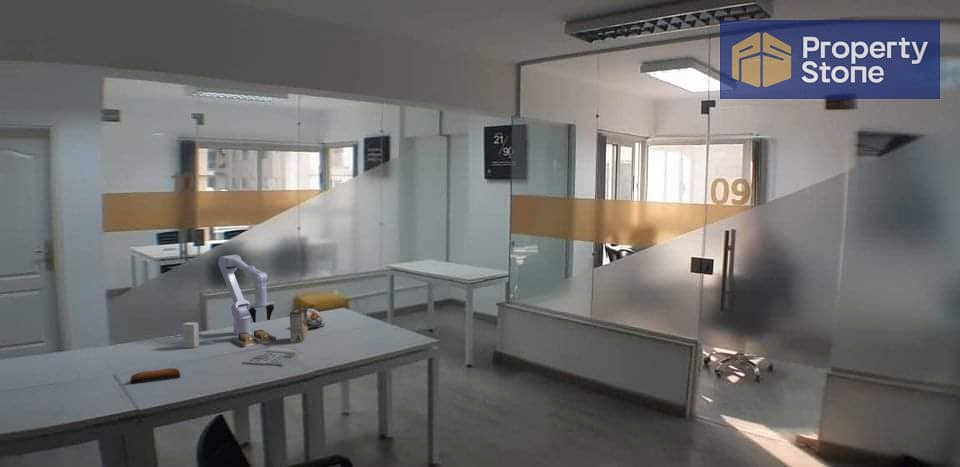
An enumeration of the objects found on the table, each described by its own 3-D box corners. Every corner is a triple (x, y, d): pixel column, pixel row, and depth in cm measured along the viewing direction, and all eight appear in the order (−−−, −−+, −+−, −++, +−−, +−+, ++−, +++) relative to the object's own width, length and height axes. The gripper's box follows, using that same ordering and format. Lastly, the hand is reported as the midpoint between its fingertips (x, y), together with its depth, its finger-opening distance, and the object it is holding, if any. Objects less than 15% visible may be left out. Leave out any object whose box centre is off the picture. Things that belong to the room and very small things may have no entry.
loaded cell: (253, 338, 295) (253, 330, 295) (261, 337, 298) (261, 329, 298) (261, 342, 288) (261, 334, 288) (269, 340, 291) (269, 333, 291)
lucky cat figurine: (329, 324, 327) (329, 306, 319) (316, 337, 317) (315, 319, 310) (308, 315, 331) (307, 297, 323) (295, 327, 322) (293, 309, 314)
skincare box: (199, 345, 283) (198, 322, 282) (194, 348, 279) (193, 324, 278) (188, 345, 284) (187, 322, 283) (182, 347, 280) (182, 324, 279)
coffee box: (296, 338, 298) (295, 308, 297) (308, 338, 298) (307, 308, 297) (290, 343, 289) (289, 312, 288) (302, 343, 289) (302, 312, 287)
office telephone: (270, 345, 279) (307, 348, 275) (271, 350, 280) (308, 353, 275) (242, 359, 257) (281, 362, 253) (242, 364, 257) (282, 367, 253)
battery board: (231, 342, 290) (231, 337, 290) (263, 336, 302) (263, 331, 302) (243, 348, 280) (243, 343, 279) (275, 342, 291) (275, 337, 291)
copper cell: (238, 341, 290) (238, 333, 289) (246, 339, 292) (246, 332, 292) (246, 345, 283) (245, 337, 282) (254, 343, 286) (253, 335, 285)
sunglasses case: (180, 371, 245) (179, 360, 242) (180, 384, 240) (180, 373, 237) (132, 377, 237) (130, 367, 233) (131, 390, 232) (129, 380, 228)
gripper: (250, 298, 288) (250, 324, 289) (277, 294, 298) (278, 319, 299) (244, 296, 293) (245, 322, 294) (271, 292, 303) (272, 317, 304)
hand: (261, 320), depth 297 cm, fingers open, 7 cm apart
